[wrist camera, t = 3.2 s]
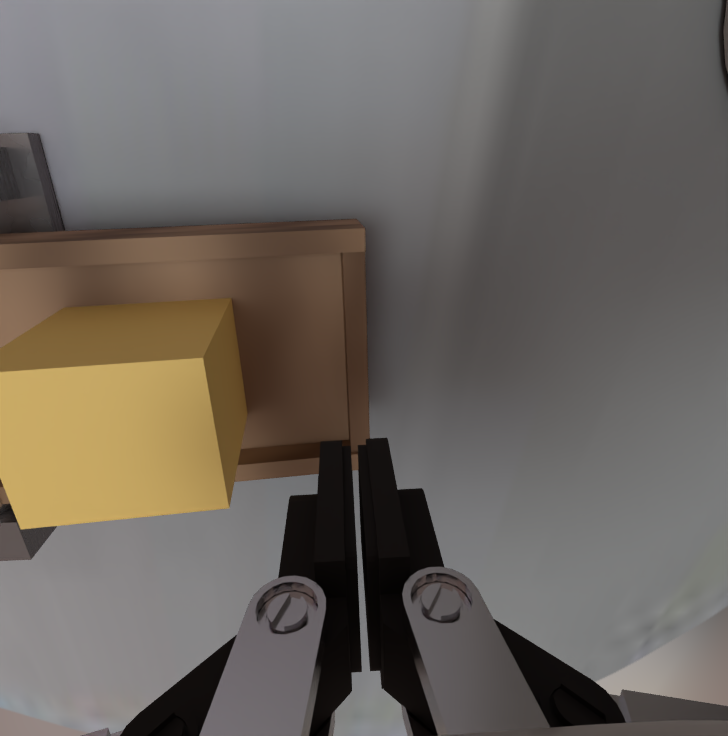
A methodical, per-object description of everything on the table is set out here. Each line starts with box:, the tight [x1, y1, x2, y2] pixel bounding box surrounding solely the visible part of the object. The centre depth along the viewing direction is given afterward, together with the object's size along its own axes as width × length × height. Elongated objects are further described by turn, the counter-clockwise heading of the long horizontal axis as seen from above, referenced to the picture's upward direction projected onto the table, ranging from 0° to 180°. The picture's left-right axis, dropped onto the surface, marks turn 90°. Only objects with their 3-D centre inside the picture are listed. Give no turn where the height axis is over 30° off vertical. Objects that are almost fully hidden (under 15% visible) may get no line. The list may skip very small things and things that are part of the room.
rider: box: [0, 298, 248, 529], centre depth 16 cm, size 6×5×6 cm
